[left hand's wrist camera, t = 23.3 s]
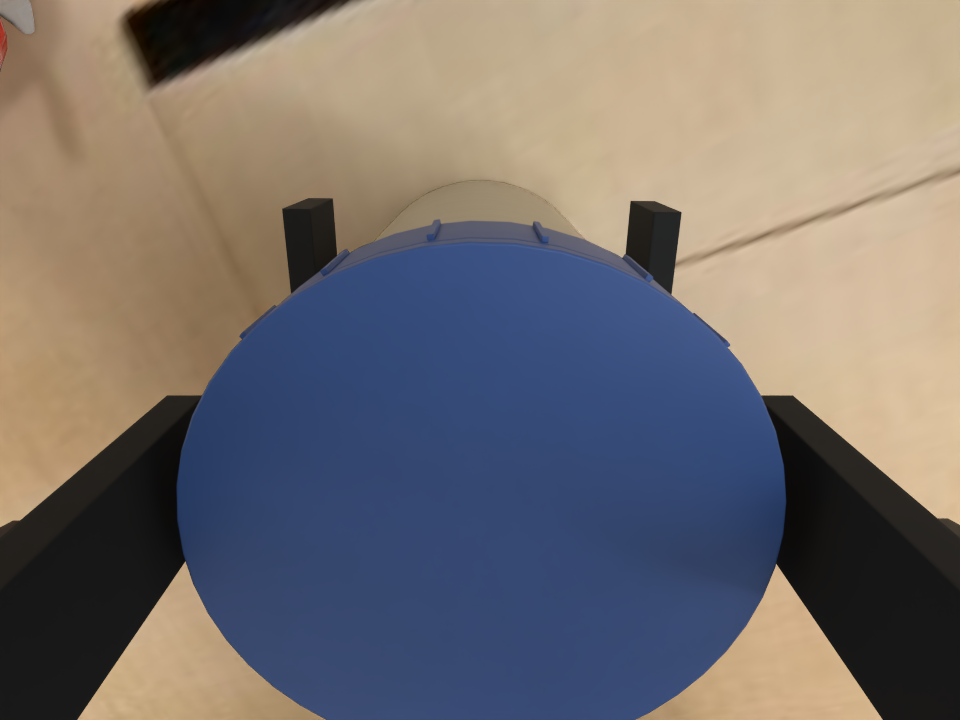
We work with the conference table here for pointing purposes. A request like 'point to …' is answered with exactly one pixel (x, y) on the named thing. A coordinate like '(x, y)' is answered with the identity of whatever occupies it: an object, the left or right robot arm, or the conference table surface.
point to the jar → (480, 208)
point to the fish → (15, 20)
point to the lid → (481, 484)
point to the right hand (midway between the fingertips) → (481, 204)
